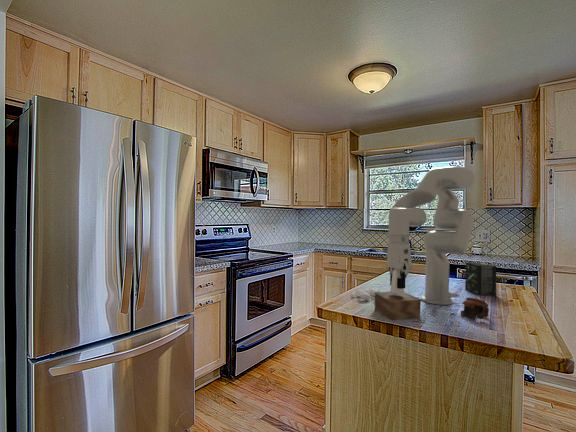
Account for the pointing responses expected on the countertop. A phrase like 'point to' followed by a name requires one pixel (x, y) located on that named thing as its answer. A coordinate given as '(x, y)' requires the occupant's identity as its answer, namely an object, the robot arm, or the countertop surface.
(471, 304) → the dark brown rounded lump
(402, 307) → the walnut box
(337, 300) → the countertop surface
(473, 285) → the tampon box
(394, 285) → the pepper shaker
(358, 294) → the tangled rod sculpture
